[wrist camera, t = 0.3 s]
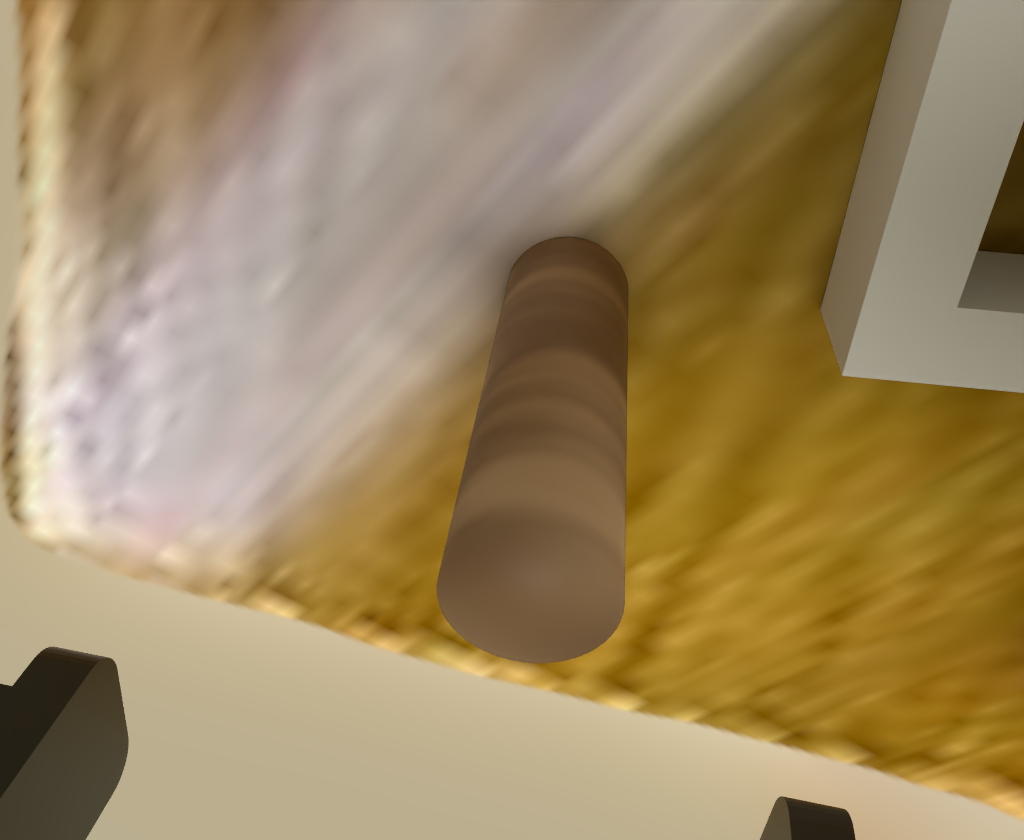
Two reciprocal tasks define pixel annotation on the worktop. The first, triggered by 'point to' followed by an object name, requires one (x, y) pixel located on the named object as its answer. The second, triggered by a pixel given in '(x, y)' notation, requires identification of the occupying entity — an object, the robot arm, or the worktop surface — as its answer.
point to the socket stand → (935, 207)
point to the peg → (546, 465)
